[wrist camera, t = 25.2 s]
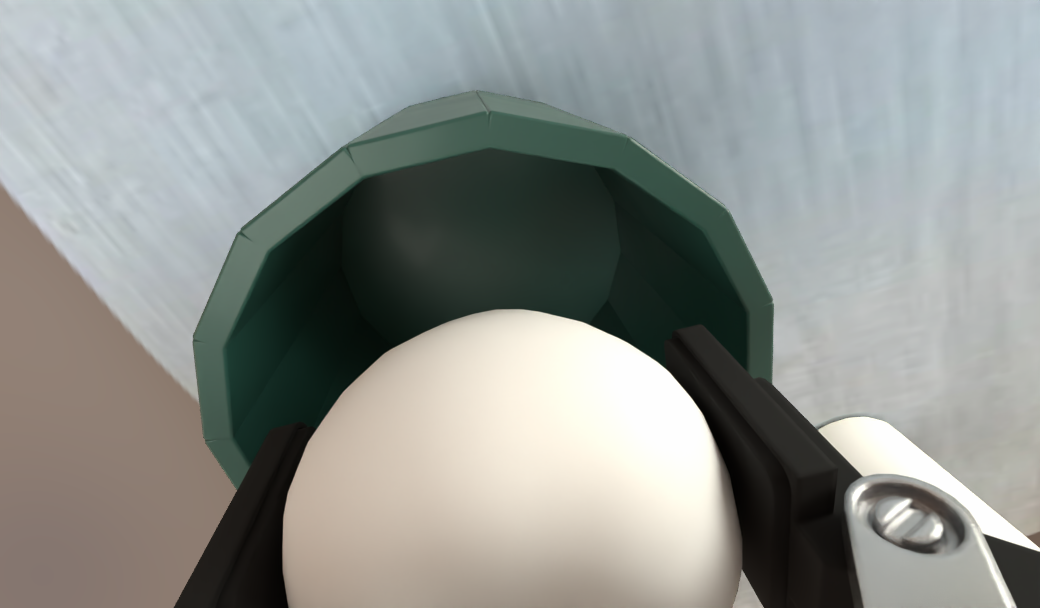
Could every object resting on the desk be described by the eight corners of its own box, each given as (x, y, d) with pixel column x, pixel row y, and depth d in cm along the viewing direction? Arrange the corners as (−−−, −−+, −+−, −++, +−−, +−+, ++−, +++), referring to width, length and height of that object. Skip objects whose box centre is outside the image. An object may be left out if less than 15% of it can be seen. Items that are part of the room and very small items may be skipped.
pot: (275, 137, 17) (51, 216, 8) (608, 57, 17) (781, 38, 8) (388, 405, 23) (336, 641, 13) (642, 343, 23) (769, 536, 13)
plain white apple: (404, 527, 13) (331, 1088, 6) (290, 293, 10) (-169, 883, 3) (658, 463, 13) (899, 948, 6) (625, 209, 10) (1060, 577, 3)
